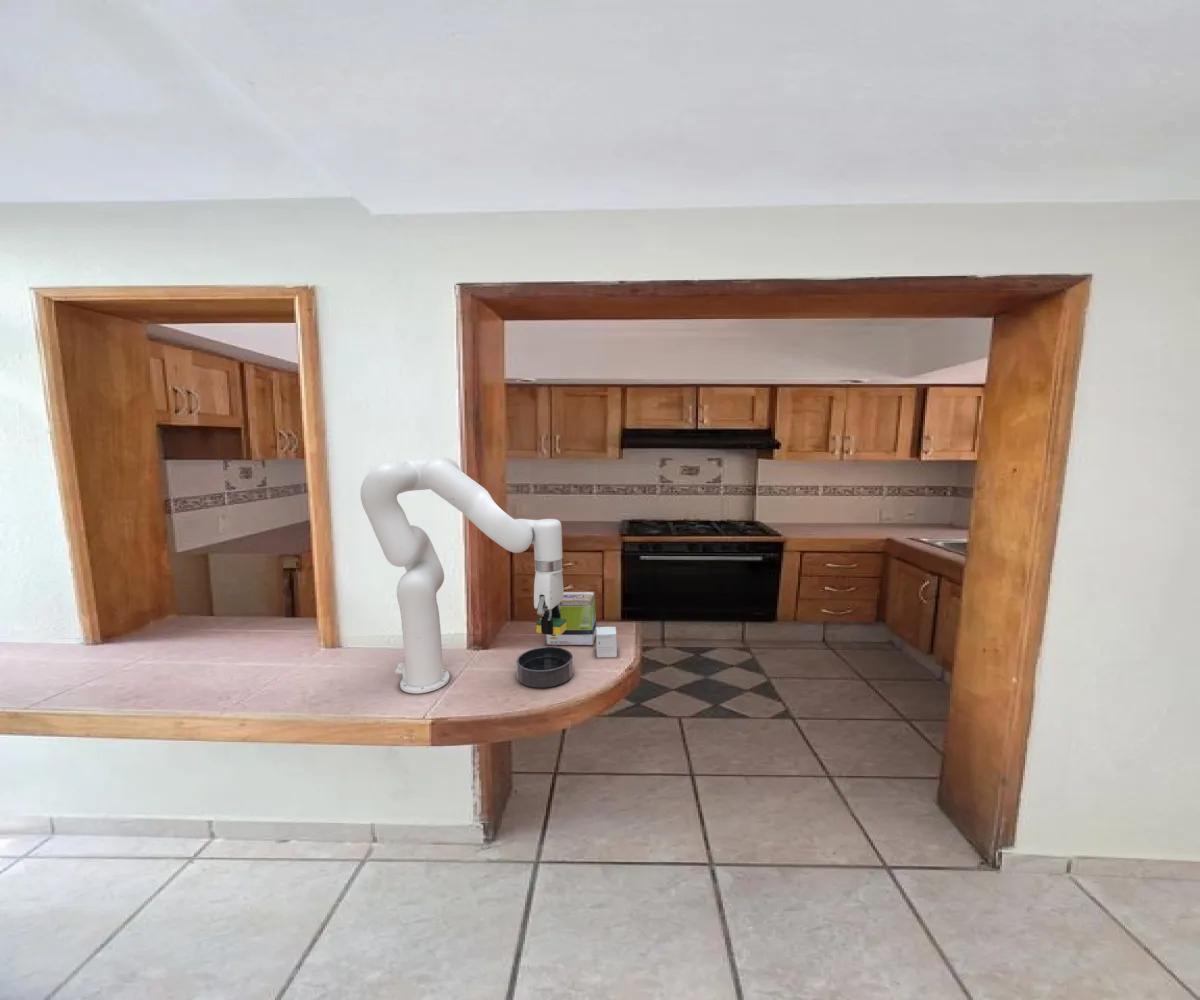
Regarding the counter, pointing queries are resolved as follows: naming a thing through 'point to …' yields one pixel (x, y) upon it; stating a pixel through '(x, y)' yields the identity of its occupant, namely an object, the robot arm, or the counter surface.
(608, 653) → the product box
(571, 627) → the tea box
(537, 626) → the sponge
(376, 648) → the counter surface
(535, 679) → the bowl
